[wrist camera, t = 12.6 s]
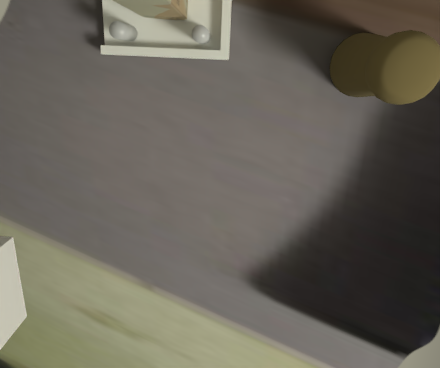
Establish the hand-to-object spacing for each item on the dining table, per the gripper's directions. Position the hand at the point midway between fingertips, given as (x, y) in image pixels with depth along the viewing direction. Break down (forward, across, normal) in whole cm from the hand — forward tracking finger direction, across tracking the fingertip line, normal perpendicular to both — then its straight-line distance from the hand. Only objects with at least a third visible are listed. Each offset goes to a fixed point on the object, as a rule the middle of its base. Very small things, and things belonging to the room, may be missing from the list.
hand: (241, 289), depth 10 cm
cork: (+29, -12, -6) cm, 32 cm away
